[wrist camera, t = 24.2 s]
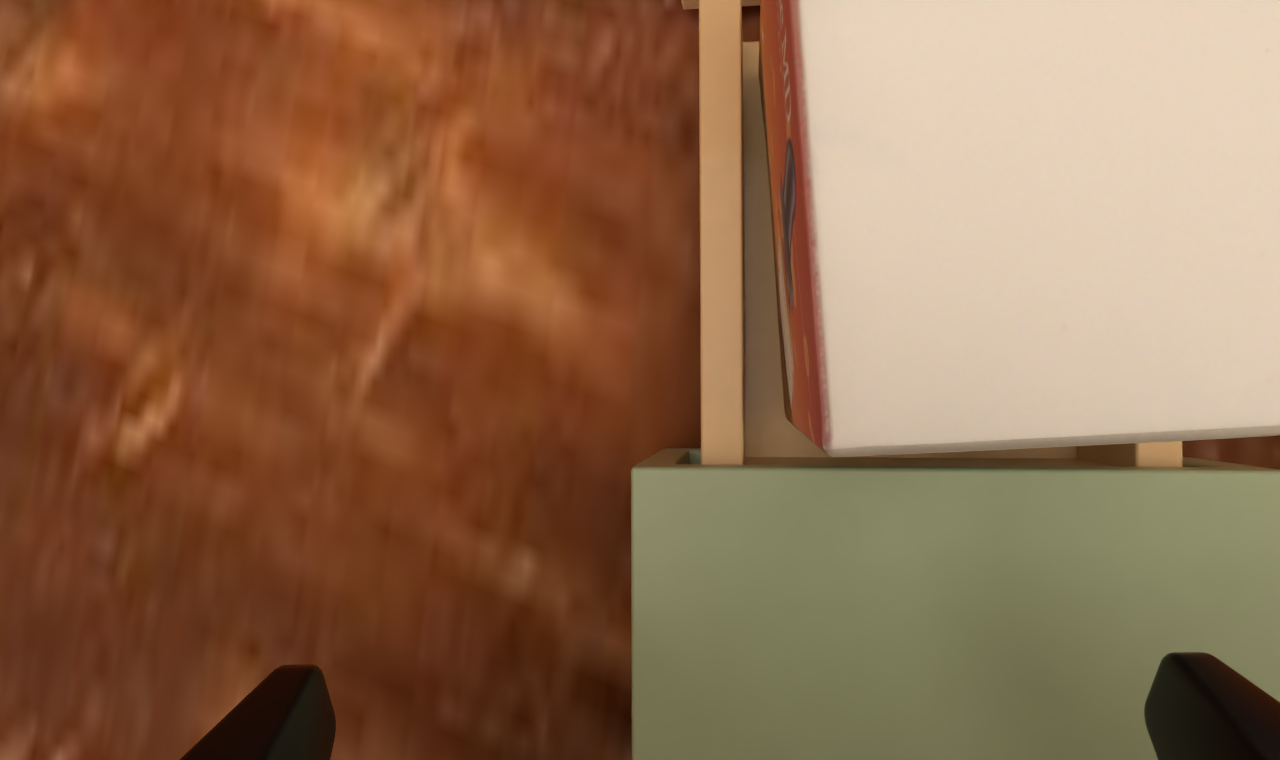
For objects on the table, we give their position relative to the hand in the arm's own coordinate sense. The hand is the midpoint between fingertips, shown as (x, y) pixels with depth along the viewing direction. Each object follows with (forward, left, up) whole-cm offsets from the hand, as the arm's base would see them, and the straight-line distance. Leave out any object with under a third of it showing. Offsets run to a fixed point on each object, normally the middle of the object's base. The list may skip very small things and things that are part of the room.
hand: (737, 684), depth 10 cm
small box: (+2, -7, -10) cm, 13 cm away
